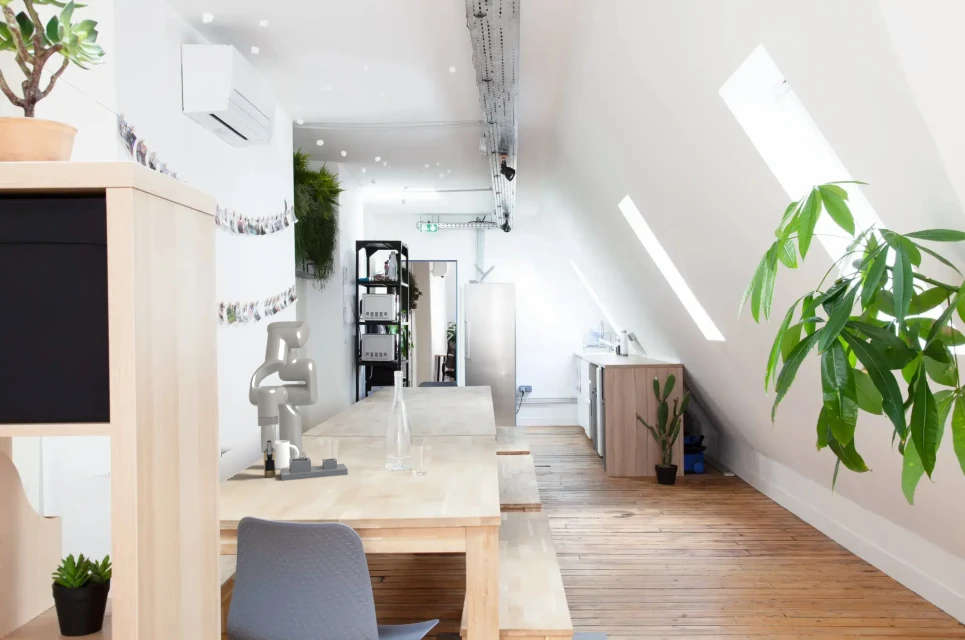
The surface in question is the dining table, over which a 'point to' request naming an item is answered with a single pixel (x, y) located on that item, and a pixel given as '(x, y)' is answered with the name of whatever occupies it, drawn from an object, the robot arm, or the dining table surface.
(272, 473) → the pipe stub
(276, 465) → the mug
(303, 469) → the fitting block
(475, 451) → the dining table surface
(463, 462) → the dining table surface
